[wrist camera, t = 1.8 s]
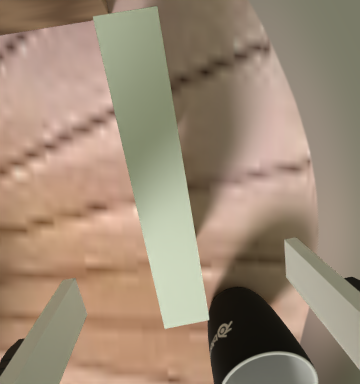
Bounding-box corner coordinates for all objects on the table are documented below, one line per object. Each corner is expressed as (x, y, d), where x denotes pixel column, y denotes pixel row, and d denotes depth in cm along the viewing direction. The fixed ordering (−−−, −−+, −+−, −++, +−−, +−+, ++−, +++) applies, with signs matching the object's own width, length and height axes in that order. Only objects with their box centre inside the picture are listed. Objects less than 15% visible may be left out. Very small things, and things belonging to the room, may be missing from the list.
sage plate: (164, 251, 28) (167, 340, 16) (124, 60, 22) (86, -10, 11) (190, 246, 28) (211, 331, 16) (156, 54, 23) (152, -20, 11)
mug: (212, 270, 29) (239, 343, 19) (280, 285, 30) (336, 361, 21) (183, 348, 32) (193, 447, 22) (246, 359, 33) (281, 457, 23)
